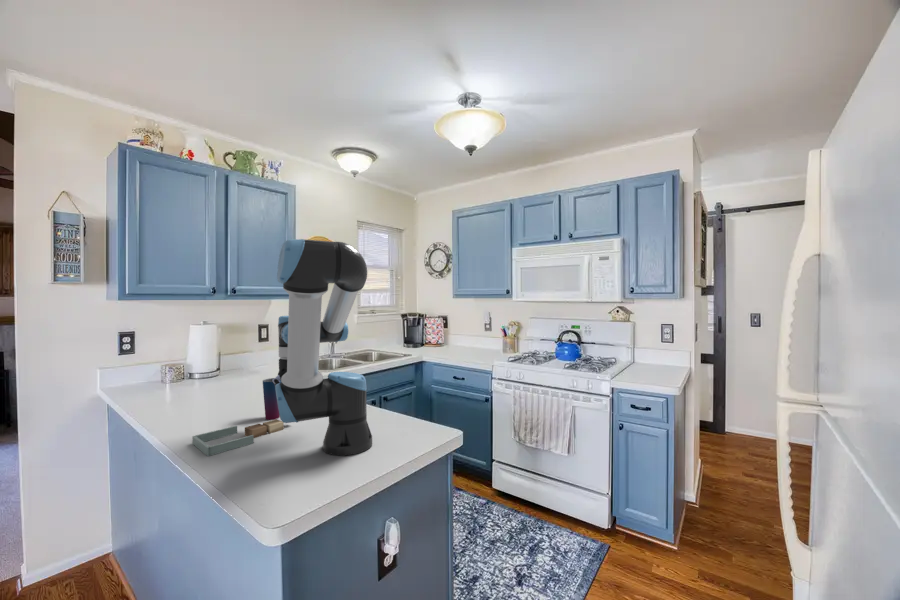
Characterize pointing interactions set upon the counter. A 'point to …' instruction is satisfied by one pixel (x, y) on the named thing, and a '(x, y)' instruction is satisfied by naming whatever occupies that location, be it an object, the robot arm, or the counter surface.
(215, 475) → the counter surface
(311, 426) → the counter surface
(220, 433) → the box
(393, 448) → the counter surface
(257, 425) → the walnut tile
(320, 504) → the counter surface
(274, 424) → the oak tile
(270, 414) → the cup
